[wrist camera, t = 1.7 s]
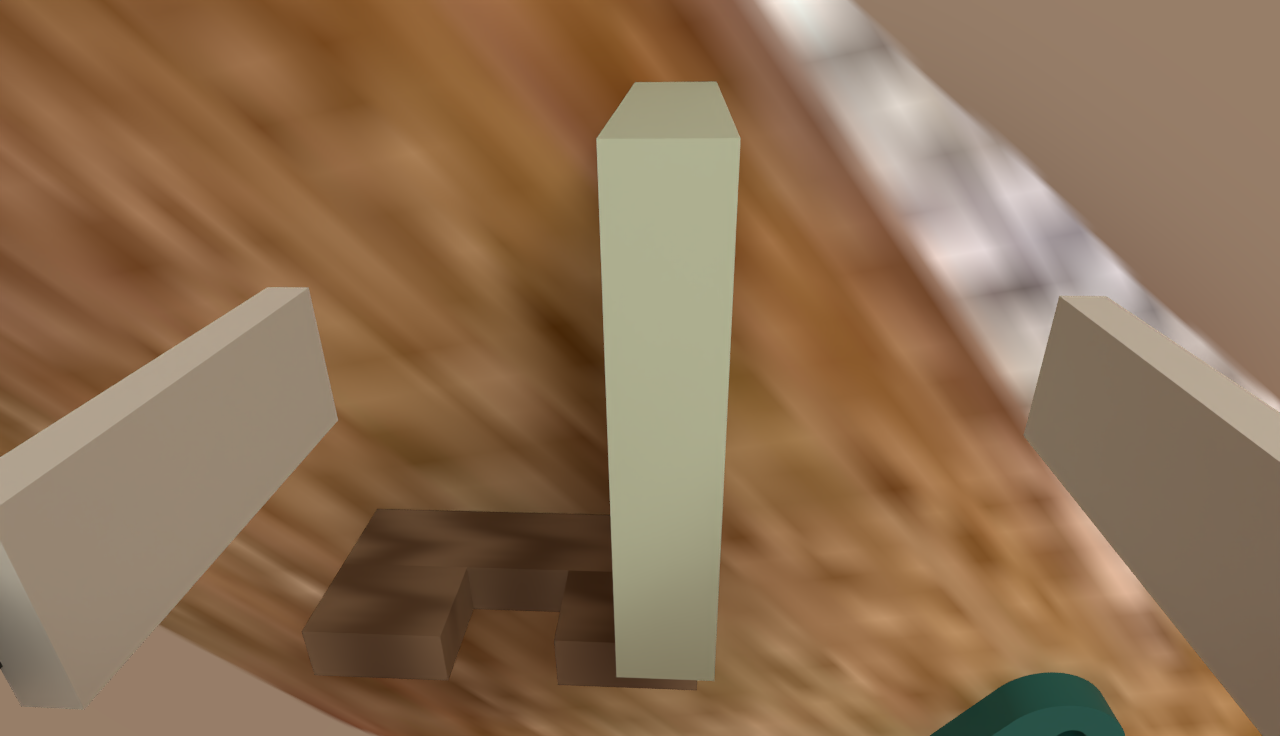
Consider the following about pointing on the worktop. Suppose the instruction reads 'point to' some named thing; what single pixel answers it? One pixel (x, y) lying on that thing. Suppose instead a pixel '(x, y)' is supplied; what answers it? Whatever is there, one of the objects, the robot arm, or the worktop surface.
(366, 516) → the worktop surface
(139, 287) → the worktop surface
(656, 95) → the sage slotted plate
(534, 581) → the walnut slotted plate
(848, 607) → the worktop surface
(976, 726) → the bracket
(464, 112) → the worktop surface
